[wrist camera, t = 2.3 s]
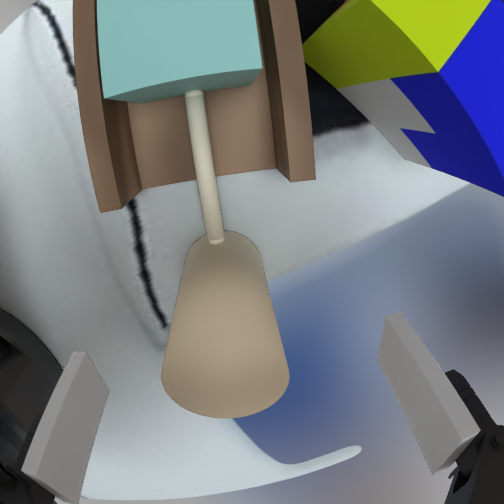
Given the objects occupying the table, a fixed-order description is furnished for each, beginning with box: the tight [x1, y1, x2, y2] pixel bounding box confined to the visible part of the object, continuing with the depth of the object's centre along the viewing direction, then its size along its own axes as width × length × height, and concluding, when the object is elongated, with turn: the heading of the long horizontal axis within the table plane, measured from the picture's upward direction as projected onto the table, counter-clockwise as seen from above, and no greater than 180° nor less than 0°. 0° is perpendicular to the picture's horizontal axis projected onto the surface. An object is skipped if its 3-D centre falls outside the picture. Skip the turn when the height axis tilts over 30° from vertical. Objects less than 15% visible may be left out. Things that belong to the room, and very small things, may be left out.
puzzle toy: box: [302, 0, 504, 197], centre depth 11 cm, size 10×10×10 cm
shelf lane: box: [73, 0, 316, 213], centre depth 13 cm, size 10×13×4 cm
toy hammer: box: [97, 0, 289, 418], centre depth 12 cm, size 6×20×10 cm, turn 7°
